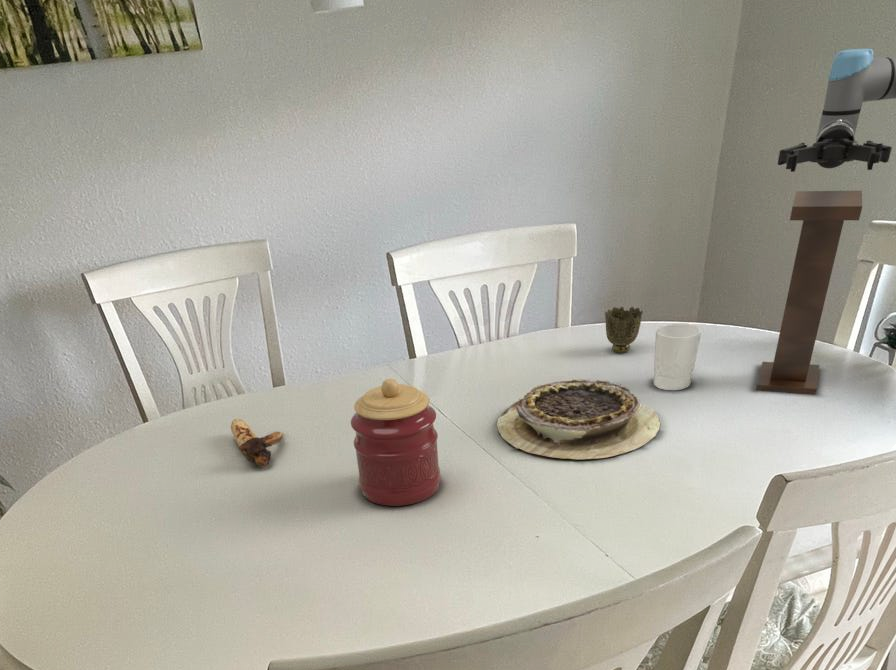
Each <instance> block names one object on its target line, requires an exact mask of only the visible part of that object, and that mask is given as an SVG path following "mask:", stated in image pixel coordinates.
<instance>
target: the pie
mask: <svg viewBox="0 0 896 670" xmlns="http://www.w3.org/2000/svg"><path fill="white" fill-rule="evenodd" d="M660 422H661V421H660V419H659V416H658V415H657V413H656V411H655V410H653V409H652V408H650V407H649V406H648V405H646V404H645V405H644V404H642V403H641V400H640V399H639V398H638V396H636V395H635V394H634V393H631V390H630V389H629V387H628V386H625V385H622V384H621V383H617V382H611V381H608V380H601V379H599V380H598V379H596V380H593V379H584V378H582V379H580V378H579V379H576V378H575V379H571V380H562V381H556V382H555V381H554V382H547V383H544V384H540V385H537V386H534V387H532V388H531V389H530V391H529V392H526V394H524V395H523V398H519V400H518V401H516V402H514V403H512V404H511V405H510V406H509V407H508V408H507V409H505V411H504V412H503V413H502V414H501V415H500V417H498V419H497V425H496V426H497V431H498V432H499V434H500V436H501V438H502V439H503V440H504V441H505V442H507V443H508V444H510V445H511V446H512V447H515V449H520V450H522V451H524V452H526V453H529V454H533V455H539V456H542V457H549V458H554V459H555V458H556V459H563V460H564V459H568V460H569V459H570V460H594V459H596V460H597V459H605V458H609V457H610V458H611V457H612V458H613V457H615V456H618V455H622V454H626V453H628V452H631V451H634V450H637V449H639V448H641V447H643V446H644V445H646V444H647V443H649V442H650V441H651V440H653V439H654V438H655V437H656V436H657V434H658V432H659V430H660V428H661V427H660V426H661V423H660Z"/></svg>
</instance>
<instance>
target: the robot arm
mask: <svg viewBox="0 0 896 670" xmlns="http://www.w3.org/2000/svg"><path fill="white" fill-rule="evenodd" d="M824 98H825V99H824V104H823V109H822V112H821V116H820V120H819V125H818V131H817V133H816V138H815V142H814V143H813V144H812V145H811V146H808V144H807V143H805V142H801V143H798V144H796V145H793V146H790V147H787V148H784V149H780V150H779V153H778V157H777V158H778V159H777V165H778V166H783V165H786V166H785V170H790V172H793V173H795V171H796V168H797V165H798V164H802V163H808V162H810V163H816V164H817V165H818V166H819V167H821V168H824V169H836V168H838V167H840V166H842V165H843V164H844V163H848V162H853V161H857V162H858V161H859V162H866V163H867V164H866V166H867V168H866V169H867V171H872V170H873V167H874V164H879V163H880V162H881V163H883V164H884V163H885V164H886V163H888V162H889V161H890V156H891V153H892V150H893V149H892V148H893V147H892V146H890V145H885V144H884V143H883V142H882V143H881V142H880V143H877V142H874V141H872V140H866V141H865V142H863V144H859V142H858V141H855V139H856V138H855V136H856V131H857V127H858V123H859V118H860V113H861V110H862V107H863V103H866V102H875V101H881V100H882V101H883V100H892V99H896V56H889V57H887V56H886V57H874V50H873V49H871V48H855V49H854V48H853V49H844V50H841V51H839V52H837V53H836V54H835V55H834V58H833V61H832V63H831V67H830V71H829V75H828V82H827V88H826V93H825V97H824Z"/></svg>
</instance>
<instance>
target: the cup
mask: <svg viewBox="0 0 896 670" xmlns="http://www.w3.org/2000/svg"><path fill="white" fill-rule="evenodd" d="M643 314H644V312H643V310H641V308H640V307H636V308H635V307H634V306H631V307H629V309H625V307H623V306H620V307H616V306H614V307H613V308H612V309H609V308H608V310H606V311H605V312H604V317H605V335H606V339H607V340H608V342H609V343H610V344H611V345H612V346H611V349H612V351H613V352H614V353H617V354H618V353H619V354H623V353H627V352H628V351H630V348H631V344H632V343H634V342H635V340H636V339H637V337H638V335H639V333H640V332H639V331H640V327H641V324H642V319H643V318H642V317H643Z"/></svg>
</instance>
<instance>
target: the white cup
mask: <svg viewBox="0 0 896 670" xmlns="http://www.w3.org/2000/svg"><path fill="white" fill-rule="evenodd" d="M701 335H702V328H700V327H699V326H697V325H694V324H690V323H668V324H663V325H661V326H658V327H657V328H656V330H655V340H654V341H655V342H654V358H653V381H652V382H653V385H654V387H655V388H658V389H660V390H665V391H680V390H684V389H687V388H689V387H690V385H691V384H692V379H693V372H694V369H695V365H696V361H697V356H698V352H699V351H698V350H699V345H700V339H701Z"/></svg>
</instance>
